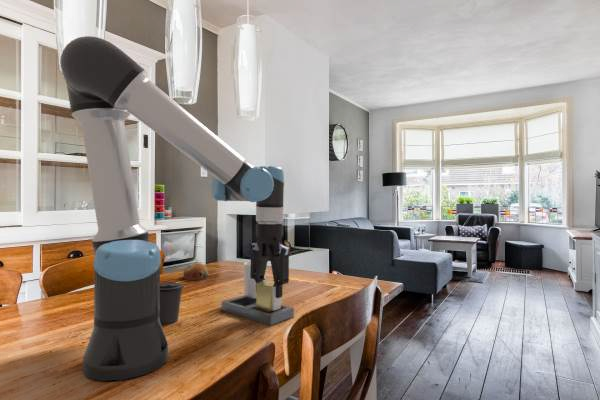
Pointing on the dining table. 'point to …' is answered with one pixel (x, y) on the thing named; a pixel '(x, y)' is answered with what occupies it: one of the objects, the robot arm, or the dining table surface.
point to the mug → (249, 281)
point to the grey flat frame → (256, 310)
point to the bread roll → (196, 272)
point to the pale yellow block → (264, 295)
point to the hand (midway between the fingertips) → (268, 307)
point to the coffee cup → (169, 302)
